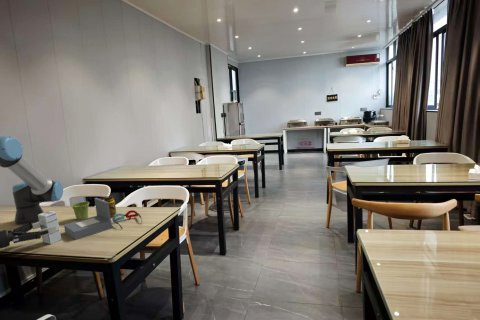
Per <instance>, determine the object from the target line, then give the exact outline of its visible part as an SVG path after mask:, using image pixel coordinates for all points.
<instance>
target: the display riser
mask: <svg viewBox="0 0 480 320" xmlns="http://www.w3.org/2000/svg"><path fill="white" fill-rule="evenodd" d="M94 206H95V211H96V215H94V216H90V217H88V218H86V219H81V220H77V221H73V222H70V223H66V224H63V227H64V228H63V229H64V233H66V235H68V236H70V237H71V238H72V239H74V240H79V239H83V238H85V237H86V238H87V237H88V236H91V235H95V234H98V233H101V232H103V231H107V230H109V229H110V230H111V229H113V225H112V218H111V217H110V210H109V203H108V202H106V201H104V199H101V198H98V197H94Z"/></svg>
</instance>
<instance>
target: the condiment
mask: <svg viewBox="0 0 480 320" xmlns="http://www.w3.org/2000/svg"><path fill="white" fill-rule="evenodd" d="M103 200H104V201H106V202H108V203H109V210H110V217H111V219H113V216H114V215H115V214H117V208H116V202H115V198H114V196H113V195H108V196H106V195H105V196H104V197H103ZM116 218H119V216H117V217H116Z"/></svg>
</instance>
